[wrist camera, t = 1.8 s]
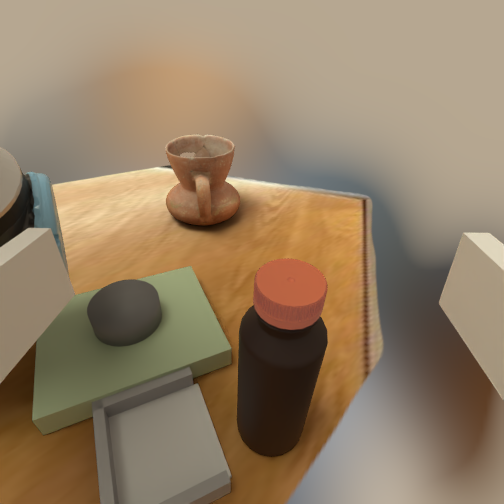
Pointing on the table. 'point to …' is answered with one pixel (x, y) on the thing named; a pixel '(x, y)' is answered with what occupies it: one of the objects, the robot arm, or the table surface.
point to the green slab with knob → (138, 387)
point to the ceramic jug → (202, 180)
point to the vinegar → (280, 355)
